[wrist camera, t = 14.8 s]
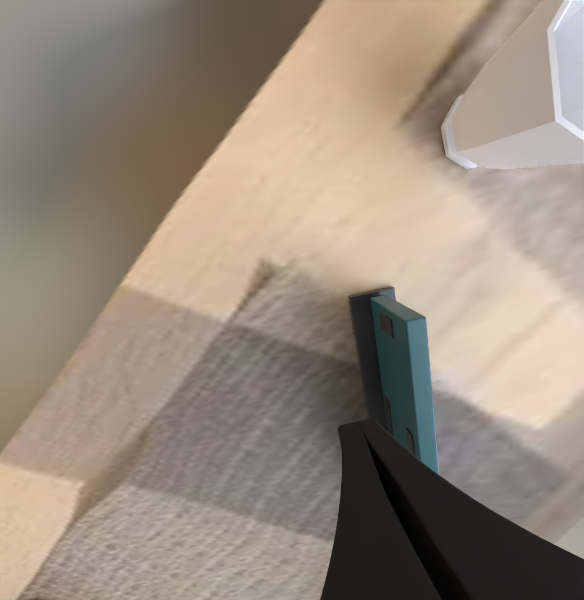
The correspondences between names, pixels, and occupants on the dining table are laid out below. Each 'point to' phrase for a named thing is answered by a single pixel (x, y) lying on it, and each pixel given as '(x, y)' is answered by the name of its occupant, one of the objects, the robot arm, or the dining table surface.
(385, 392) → the door
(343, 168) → the dining table surface
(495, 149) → the cup
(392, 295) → the door frame
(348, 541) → the robot arm
